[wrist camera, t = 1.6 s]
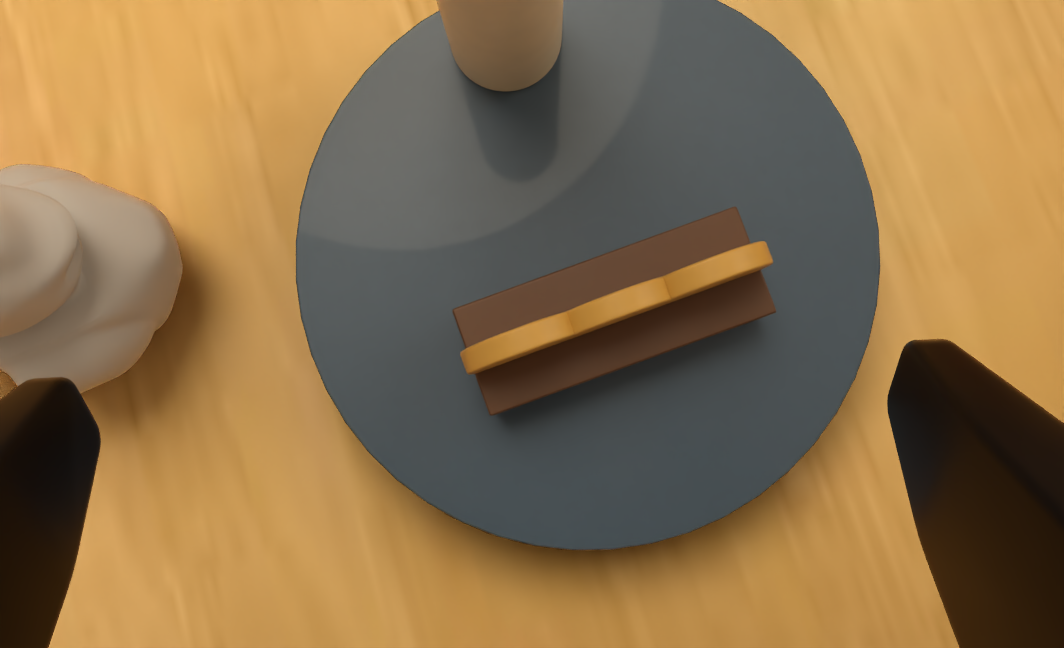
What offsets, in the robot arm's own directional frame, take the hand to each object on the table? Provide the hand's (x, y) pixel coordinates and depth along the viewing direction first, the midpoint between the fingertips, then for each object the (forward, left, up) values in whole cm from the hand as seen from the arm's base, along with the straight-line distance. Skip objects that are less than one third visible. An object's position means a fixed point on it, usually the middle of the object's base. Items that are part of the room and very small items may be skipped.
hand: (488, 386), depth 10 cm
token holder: (+3, +1, -12) cm, 12 cm away
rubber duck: (-6, +10, -13) cm, 17 cm away
